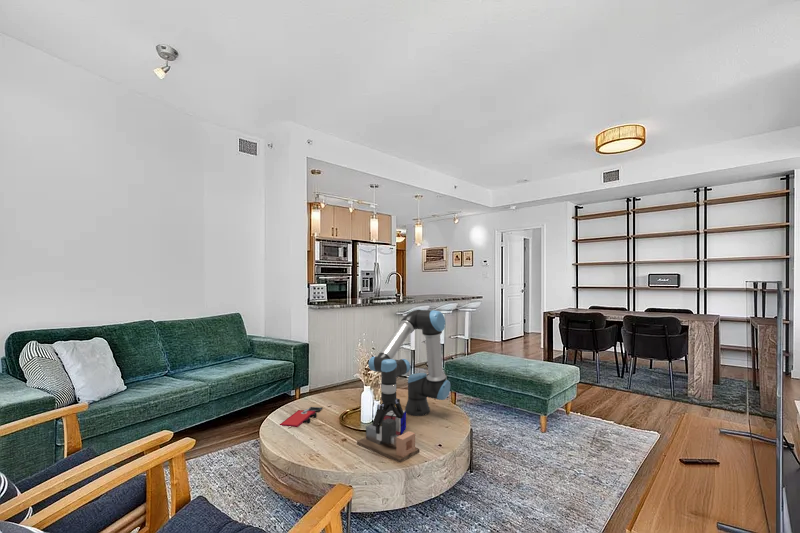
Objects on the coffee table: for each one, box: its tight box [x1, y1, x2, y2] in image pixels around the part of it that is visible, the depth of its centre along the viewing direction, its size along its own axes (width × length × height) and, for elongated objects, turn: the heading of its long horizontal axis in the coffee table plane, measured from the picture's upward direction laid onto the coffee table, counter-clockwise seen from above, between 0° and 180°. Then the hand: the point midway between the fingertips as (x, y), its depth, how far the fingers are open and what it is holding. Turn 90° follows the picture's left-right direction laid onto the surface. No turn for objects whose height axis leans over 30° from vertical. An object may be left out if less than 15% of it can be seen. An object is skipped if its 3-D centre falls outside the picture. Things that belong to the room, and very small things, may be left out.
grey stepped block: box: [365, 423, 384, 445], centre depth 194 cm, size 5×10×6 cm, turn 49°
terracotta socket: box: [396, 430, 416, 457], centre depth 181 cm, size 9×4×8 cm, turn 139°
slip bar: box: [381, 418, 399, 445], centre depth 190 cm, size 5×18×10 cm, turn 49°
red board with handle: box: [279, 406, 323, 428], centre depth 230 cm, size 30×3×15 cm
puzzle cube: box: [384, 409, 407, 436], centre depth 209 cm, size 10×10×10 cm
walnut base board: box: [356, 436, 420, 464], centre depth 188 cm, size 14×29×2 cm, turn 49°
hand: (388, 435), depth 188 cm, fingers open, 13 cm apart
